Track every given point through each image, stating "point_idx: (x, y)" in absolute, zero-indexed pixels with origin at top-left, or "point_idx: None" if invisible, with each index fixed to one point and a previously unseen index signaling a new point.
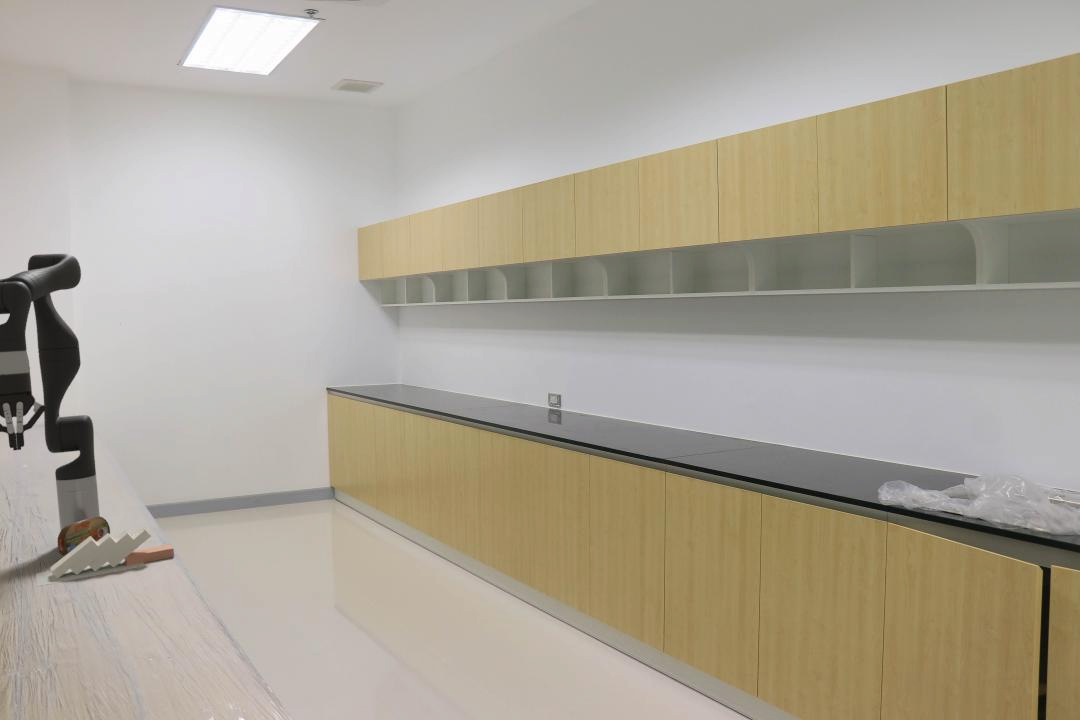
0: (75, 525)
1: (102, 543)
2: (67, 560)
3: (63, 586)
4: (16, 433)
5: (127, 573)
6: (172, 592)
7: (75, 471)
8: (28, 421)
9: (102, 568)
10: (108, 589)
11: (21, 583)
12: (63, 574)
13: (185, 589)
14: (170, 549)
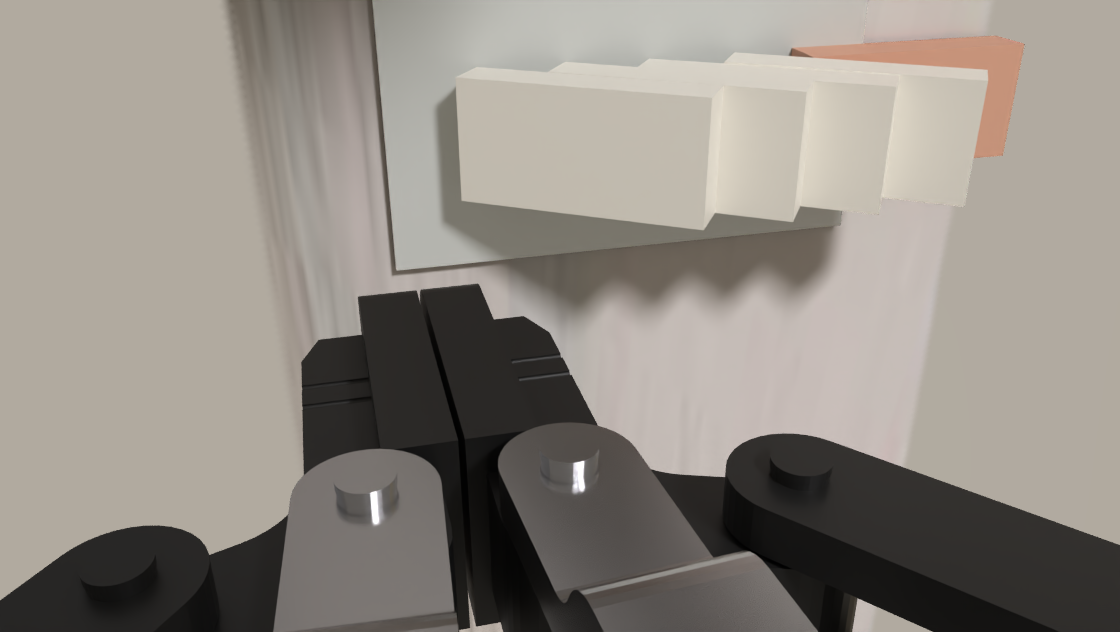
0: None
1: (741, 214)
2: (551, 209)
3: (504, 311)
4: (484, 595)
5: (757, 271)
6: None
7: None
8: (847, 586)
9: None
10: (659, 468)
11: (306, 106)
12: None
13: (858, 605)
14: (988, 156)
